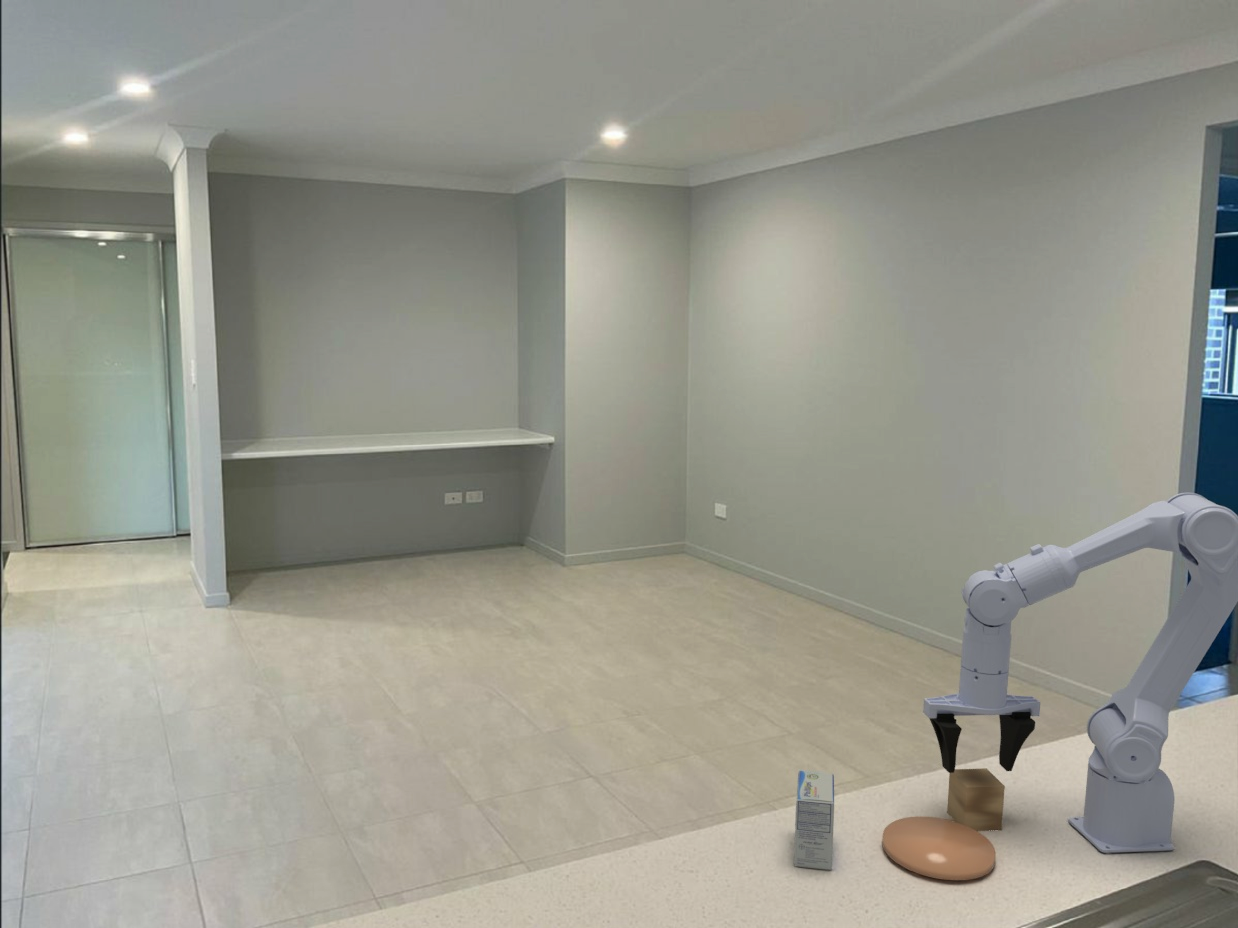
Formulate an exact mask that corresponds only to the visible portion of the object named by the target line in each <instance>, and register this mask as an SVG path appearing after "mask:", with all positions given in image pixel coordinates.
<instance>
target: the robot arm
mask: <svg viewBox="0 0 1238 928" xmlns="http://www.w3.org/2000/svg"><path fill="white" fill-rule="evenodd" d="M1147 548H1148V549H1152V550H1153V549H1154V550H1161V551H1165V552H1172V553H1181V557H1182V559H1183V561H1184V564H1185V566H1186V568H1187V570H1188V572H1189V575H1190V580H1189V582H1188V584H1187V586H1186V588H1185V589H1184V591H1183V593H1182V594H1181V596H1180V598H1179V599H1178V601H1177V602H1176V604H1175V606H1174V608H1173V609H1172V611H1171V613H1170V614H1169V615H1168V617H1167V619H1166V621H1165V622H1164V624H1163V626H1162V627H1161V629H1160V631H1159V632H1158V634H1157V636H1156V637H1155V639H1154V641H1153V642H1152V644H1151V646H1150V647H1149V648H1148V650H1147V652H1146V653H1145V655H1144V657H1143V658H1142V660H1141V662H1140V663H1139V665H1138V667H1137V669H1136V670H1135V672H1134V673H1133V675H1132V677H1131V679H1130V680H1129V681H1128V683H1127V685H1126V686H1125V687H1124V688H1121V689H1119V690H1117V691H1115V692H1113V693H1112V694H1111V696H1110V698H1109V700H1108V701H1107V702H1105V704H1103V706H1100V707H1099V708H1097V709H1096V710H1094V711H1093V712H1092V713H1091V715H1090V716H1089V718H1088V720H1087V721H1086V722H1087V724H1086V732H1087V737H1088V738H1089V740H1090V741H1091V743H1092V744H1093V745H1094V748H1093V751H1092V753H1091V754H1090V756H1089V757H1088V764H1087V775H1086V785H1085V797H1084V807H1083V808H1084V809H1083V816H1075V817H1074V816H1071V817H1068V819H1067V821H1068V823H1069V824H1070V825H1072V827H1074V828H1075V829H1076V831H1078V832H1079V833H1080V834H1081V835H1082V836H1084V837H1085V839H1087V840H1088V842H1090V843H1091V844H1092V845H1093V846H1094V847H1095V848H1096V849H1097V850H1098V851H1100V852H1101V853H1104V854H1108V853H1109V854H1110V853H1133V852H1138V853H1139V852H1160V851H1161V852H1162V851H1174V850H1175V846H1174V844H1173V843H1171V837H1172V829H1173V819H1174V811H1175V810H1174V808H1175V792H1174V786H1173V784H1172V781H1171V780H1170V778H1169V776H1168V775H1167V774H1166V772H1165V771H1164V770H1162V769H1161V768H1160V766H1161V762H1162V750H1163V746H1164V744H1165V742H1166V741H1167V740H1168V737H1169V716H1170V712H1171V710H1172V708H1173V707H1174V705H1175V704H1176V703H1177V701H1178V699H1179V698H1180V695H1181V694H1182V693H1183V691H1184V689H1185V687H1186V686H1187V684H1188V683H1189V681H1190V680H1191V678H1192V676H1193V674H1194V673H1195V672H1196V670H1197V668H1198V666H1199V665H1200V664H1201V662H1202V660H1203V658H1204V657H1205V656H1206V653H1207V652H1208V650H1209V649H1210V647H1211V646H1212V643H1213V642H1214V641H1215V639H1216V637H1217V636H1218V634H1219V632H1220V631H1221V629H1222V627H1223V626H1224V625H1225V623H1226V621H1227V619H1228V618H1229V617H1230V615H1231V613H1232V612H1233V610H1234V608H1235V606H1236V605H1237V604H1238V514H1237V513H1235V512H1234V511H1233V510H1232V509H1230V508H1228V507H1226V506H1224V505H1219V504H1216V503H1215V502H1213V501H1211V500H1208V499H1207V498H1206V497H1204V496H1203V495H1202V494H1198V493H1195V492H1180V493H1178V494H1175V495H1172V496H1171V497H1170V498H1168V499H1166V500H1164V499H1163V500H1160V501H1155V502H1153V503H1151V504H1150V505H1148V506H1146V507H1144V508H1143V509H1141V510H1139V511H1137V512H1135V513H1133V514H1132V515H1130V516H1129V515H1128V516H1127V517H1126V518H1124V519H1121V520H1120V521H1117V522H1115V523H1113V524H1111V525H1110V526H1108V527H1106V528H1103V529H1101V530H1099V531H1098V532H1096V533H1094V534H1092V535H1089V536H1088V537H1086V538H1084V539H1082V540H1080V541H1078V542H1075V543H1073V544H1072V545H1069V546H1067V547H1060V546H1057V545H1055V544H1047V545H1045V546H1043V545H1041V544H1040V543H1037V544H1035V545H1033V546H1030V548H1029V551H1030V552H1029V553H1027V554H1026V555H1022V556H1021V557H1018V558H1016V559H1014V560H1011V561H1010V562H1008V563H1004V564H1003V563H1001V562H998V563H996V564H994V565H993V568H994V570H987V569H983V570H979V571H976V572H974V573H973V574H971V576H969V577H968V580H966V581H965V584H964V587H963V588H961V594H962V598H963V602H964V603H965V605H966V606H967V607H968V608H966V609H965V615H964V627H963V629H962V643H961V654H960V655H961V656H960V657H961V659H960V669H959V670H960V671H959V683H958V684H959V686H958V692H956V693H953V694H947V695H941V696H937V697H924V698H923V707H922V710H923V711H922V713H923V715H925V716H926V717H927V718H928V719H929V720H930V721H929V722H930V723H931V725H932V729H933V730H934V734H935V735H936V739H937V742H938V746H939V751H940V755H941V756H940V757H941V765H942V767H943V768H944V770H945V771H946V772H947V773H948V774H950V773H954V771H955V769H956V762H957V759H956V758H957V748H958V743H959V739H960V735H961V733H962V730H963V728H962V727H961V726H960V725H959V724H957V719H955V717H957V716H958V717H960V716H961V717H965V716H998V717H999V727H1000V739H999V740H1000V742H999V753H998V755H999V756H998V759H999V760H998V761H999V762H998V763H999V765H1000V767H1002V768H1003V769H1004V770H1005V771H1006V772H1012V770H1013V768H1014V766H1015V762H1016V759H1017V758H1018V754H1019V753H1020V751H1021V749H1022V747H1023V745H1024V743H1025V742H1026V740H1027V739H1028V738H1029V736H1030V735H1031V734H1032V733H1033V732H1034V731H1035V728H1036V721H1035V720H1034V719H1033V718H1032V717H1040V714H1041V713H1040V711H1041V701H1040V700H1038V698H1036V697H1035V696H1033V695H1032V696H1031V695H1030V696H1029V695H1025V696H1024V695H1016V694H1008V686H1009V671H1010V670H1009V669H1010V660H1011V659H1010V658H1011V657H1010V656H1011V648H1012V647H1011V645H1012V643H1011V642H1012V633H1011V629H1012V622H1013V620H1015V618H1016V617H1017V615H1018V613H1019V612H1020V610H1021V609H1022V608H1023V609H1024V608H1027V607H1029V606H1031V605H1034V604H1037V603H1038V602H1041V601H1044V600H1046V599H1048V598H1050V597H1053V596H1055V595H1057V594H1059V593H1062V592H1064V591H1067V590H1069V589H1071V588H1073V587H1074V586H1075V585H1076V583H1077V579H1078V578H1079V576H1080V574H1081V573H1082V572H1085V571H1088V570H1091V569H1093V568H1095V567H1098V566H1101V565H1104V564H1107V563H1109V562H1111V561H1114V560H1116V559H1119V558H1122V557H1125V556H1127V555H1130V554H1133V553H1135V552H1138V551H1140V550H1143V549H1147Z"/></svg>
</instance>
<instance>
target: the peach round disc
mask: <svg viewBox="0 0 1238 928" xmlns="http://www.w3.org/2000/svg"><path fill="white" fill-rule="evenodd" d="M881 843H882V847H883V850H884V851H885V853H886V854H887V856H888V857H889V858H890V859H891V860H893V861H894V862H895V863H896V864H898V865H900V866H901V867H903V868H905V869H906V870H909V871H911V872H914V873H916V874H918V875H922V876H925V877H929V878H933V879H937V880H938V879H939V880H945V881H969V880H974V879H978V878H982V877H983V876H986V875H987V874H989V873H990V872H991V871H992V870H993V868H994V867H995V865H996V856H997V855H996V854H997V852H996V848H995V847H994V845H993V844H992V842H991V841H990V840H989V839H988V838H987V837H986V836H985V835H984V834H982V833H981V832H980V831H976V830H974V829H972V828H970V827H968V826H966V825H963V824H961V823H958V822H955V821H954V820H950V819H946V818H941V817H933V816H909V817H908V816H907V817H903V818H899V819H896V820H894V821H892V822H891V823H889V824H888V825H886V827H885V828H884V829H883V833H882V841H881Z"/></svg>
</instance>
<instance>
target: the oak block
mask: <svg viewBox="0 0 1238 928" xmlns="http://www.w3.org/2000/svg"><path fill="white" fill-rule="evenodd" d="M948 774H949V775H948V776H949V777H948V792H947V793H948V794H947V808H946V813H947V814H948V816H949V817H951V818H952V821H954V822H958V823H961V824H963V825H966V826H968V827H970V828H972V829H974V830H976V831H978V832H992V831H993V830H994V831H995V830H998V831H1002V827H1003V816H1004V815H1003V813H1004V801H1005V784H1003V783H1002V782H1001V781H1000V780H999V779H998V778H997V777H996V775H994V774H993V773H992V772H991V771H990V770H989V769H988V768H985V767H984V768H957V769H956V768H955V771H954V773H948ZM989 830H990V831H989ZM991 830H992V831H991ZM994 831H993V832H994ZM995 832H996V831H995Z"/></svg>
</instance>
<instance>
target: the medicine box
mask: <svg viewBox="0 0 1238 928" xmlns="http://www.w3.org/2000/svg"><path fill="white" fill-rule="evenodd" d="M834 778H835V776H834V773H830V772H823V771H814V770H798V775H797V788H796V804H795V821H794V822H795V823H794V826H795V827H794V828H795V830H794V832H795V833H794V866H795V867H799V868H808V869H815V870H816V869H817V870H824V871H825V870H826V871H831V870H833V852H834V851H833V848H834V821H835V781H834V780H835V779H834Z"/></svg>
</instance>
